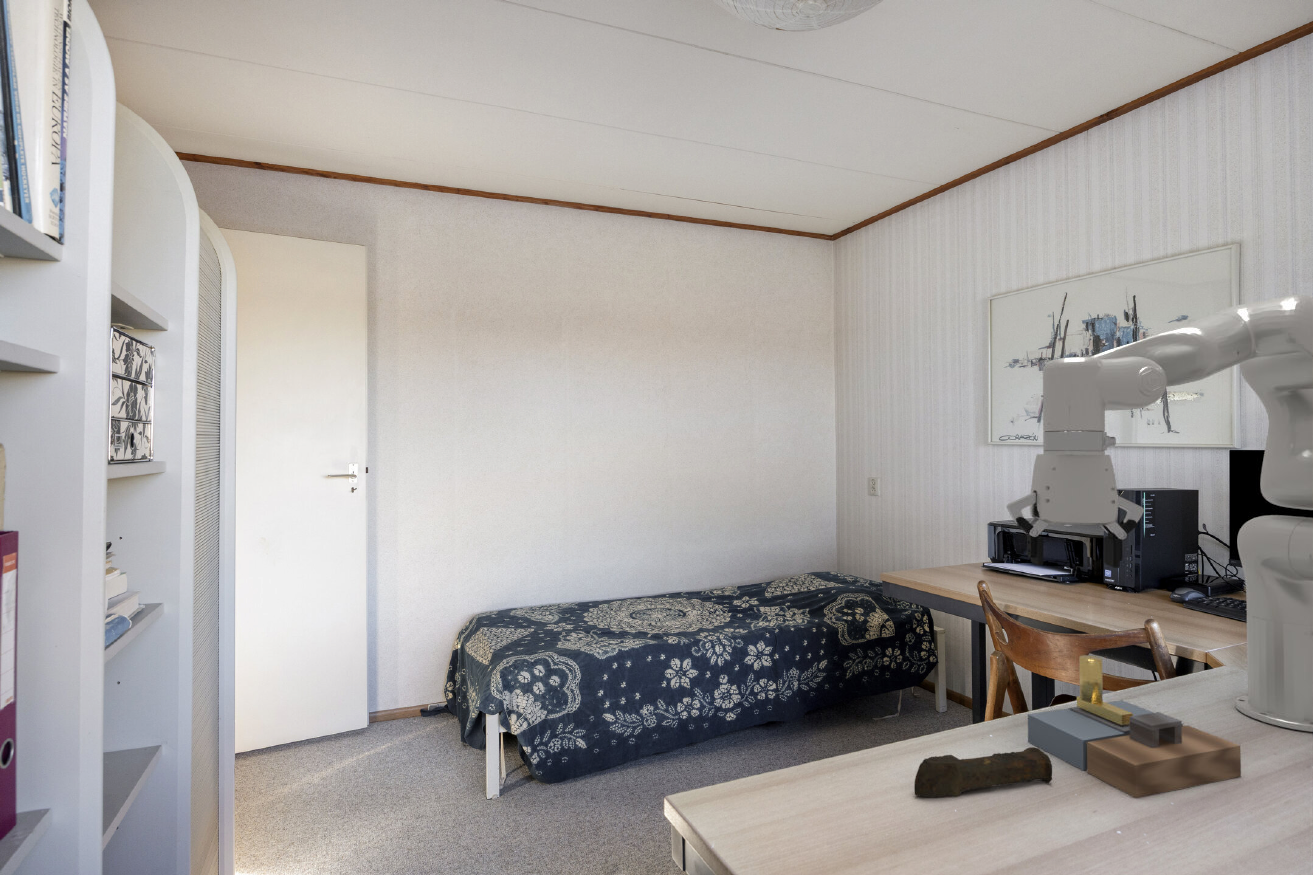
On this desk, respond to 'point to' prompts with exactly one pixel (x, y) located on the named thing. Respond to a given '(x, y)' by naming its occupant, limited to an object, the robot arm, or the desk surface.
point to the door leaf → (1075, 731)
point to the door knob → (1097, 692)
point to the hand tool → (980, 772)
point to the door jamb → (1162, 757)
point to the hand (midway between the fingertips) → (1073, 564)
